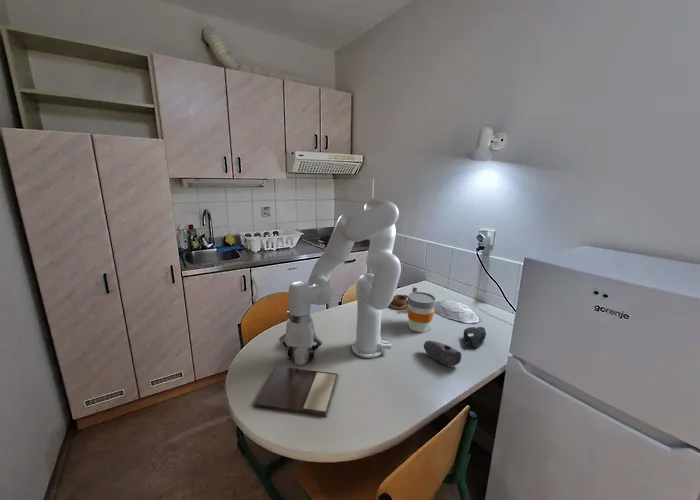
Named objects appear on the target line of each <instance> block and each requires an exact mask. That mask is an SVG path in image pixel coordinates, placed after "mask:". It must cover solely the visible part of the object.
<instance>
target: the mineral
mask: <svg viewBox="0 0 700 500" xmlns="http://www.w3.org/2000/svg"><path fill="white" fill-rule="evenodd" d="M486 337H487V332H486V329H485V328H484V327H482V326H477V327H475V326H469V327H466V328H465V329H464V330H463V341H464V342H465V343H466V345H468V346H469V347H475V348H479V347H480V346H481V345H482V344H483V342H484V340H485V339H486Z"/></svg>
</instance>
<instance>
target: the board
mask: <svg viewBox="0 0 700 500" xmlns="http://www.w3.org/2000/svg"><path fill="white" fill-rule="evenodd" d="M337 378H338V373H335V372H327V371H318V370H311V369H302V368H294V367H286V366H279V365H278V366H276V367H275V368H274V370H273V372H272V374H271V375H270V377H269V379H268V381H267V383H266V384H265V385H264V387H263V388H262V390H261V393H260V394H259V396H258V397H257V399H256V401H255V402H254V408H255V407H256V408H264V409H269V410H277V411H283V412H291V413H298V414H305V415H313V416H320V417H327V414H328V411H329V407H330V403H331V400H332V398H333V393H334V389H335V387H336V386H335V385H336V382H337Z"/></svg>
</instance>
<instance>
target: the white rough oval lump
mask: <svg viewBox="0 0 700 500" xmlns="http://www.w3.org/2000/svg"><path fill="white" fill-rule="evenodd" d="M434 313H435V314H438V315H440V316H442V317H443V318H446V319H450V320H455V321H459V322H461V323H467V324H477V323H478V322H479V321H480V317H479V316H478V315H477V314H476V313H475V312H474V310H473V309H472V308H471V307H470V306H468V305H467V304H464V303H462V302H458V301H455V300H452V299H439V300H437V301H436V305H435V307H434Z"/></svg>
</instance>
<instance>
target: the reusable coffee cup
mask: <svg viewBox="0 0 700 500" xmlns="http://www.w3.org/2000/svg"><path fill="white" fill-rule="evenodd" d="M407 302H408V306H407V309H406V310H408V311H407V319H408V327H409V329H410V330H412V331H414V332H417V333H426V332H428V331H429V330H430V325H431V322H432V321H433V317H434V313H435V312H434V307H435V305H436V297H435V296H434V295H433V294H431V293H428V292H423V291H417V292H413V291H412V292H409V294H408V296H407Z"/></svg>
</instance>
